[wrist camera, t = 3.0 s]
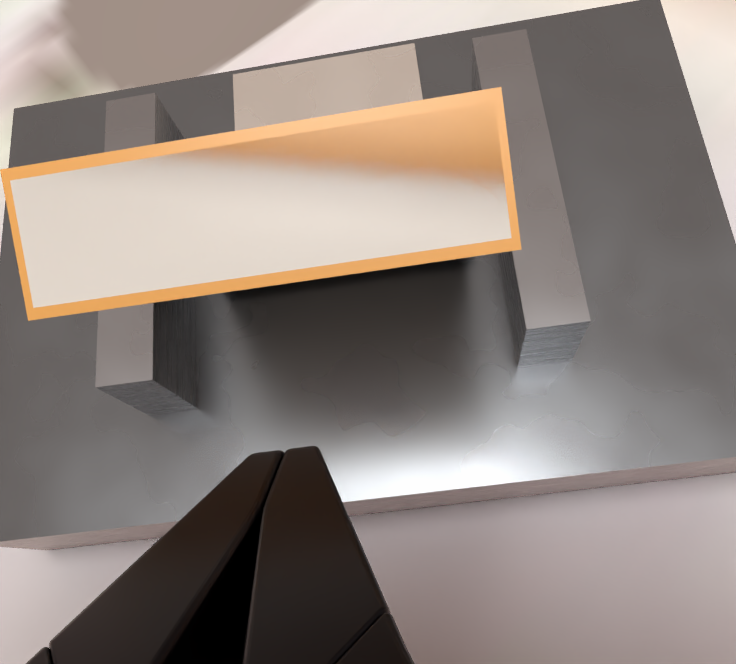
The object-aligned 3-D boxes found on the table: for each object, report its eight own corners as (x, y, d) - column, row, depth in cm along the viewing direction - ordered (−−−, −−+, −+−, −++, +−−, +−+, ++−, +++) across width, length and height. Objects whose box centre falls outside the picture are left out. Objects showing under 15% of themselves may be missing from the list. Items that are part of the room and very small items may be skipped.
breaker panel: (745, 471, 17) (864, 423, 12) (46, 550, 19) (-112, 538, 14) (633, 73, 21) (687, -88, 16) (69, 166, 23) (-46, 46, 18)
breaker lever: (476, 256, 17) (530, 248, 8) (216, 294, 17) (20, 321, 9) (465, 176, 17) (510, 84, 8) (203, 216, 17) (-8, 170, 9)
